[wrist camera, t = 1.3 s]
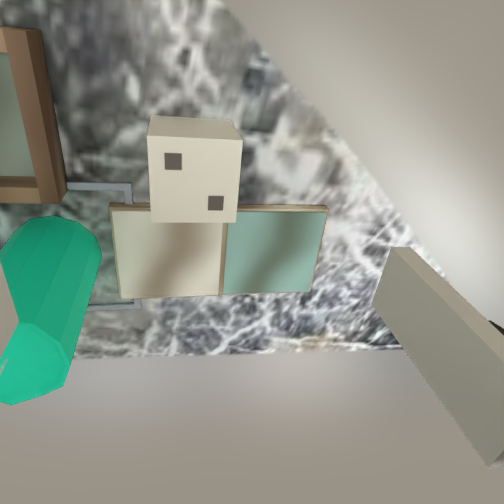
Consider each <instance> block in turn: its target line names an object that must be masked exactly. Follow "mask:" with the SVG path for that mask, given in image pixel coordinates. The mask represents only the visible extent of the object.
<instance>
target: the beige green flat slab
mask: <svg viewBox="0 0 504 504" xmlns="http://www.w3.org/2000/svg"><path fill="white" fill-rule="evenodd" d="M328 211H329V209H328V208H327V207H326V206H320V205H237V215H236V223H151V206H150V203H133V204H125V203H110V205H109V214H110V222H111V231H112V239H113V248H114V256H115V265H116V273H117V281H118V290H119V298H120V299H142V298H166V297H190V296H213V295H237V294H261V293H285V292H309V291H310V289H311V285H312V280H313V276H314V272H315V267H316V263H317V259H318V254H319V250H320V246H321V242H322V237H323V233H324V229H325V224H326V220H327V216H328Z"/></svg>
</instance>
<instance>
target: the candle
mask: <svg viewBox="0 0 504 504" xmlns="http://www.w3.org/2000/svg"><path fill="white" fill-rule="evenodd" d="M101 257H102V254H101V251H100V248H99V245H98V243H97V240H96V237H94V236H93V235H92V234H91V233H90V232H89V231H88V230H86V229H85V228H84V227H83V226H82V225H81V224H79V223H77V222H74V221H71V220H67V219H64V218H61V217H57V216H49V217H41V218H33V219H30V220H29V221H27V222H26V223H25V224H24V225H22V226H21V227H20V228H18V229H17V230H16V231H15V232H14V233H13V234H12V236H11V237H10V238H9V240H8V241H7V242H6V244H5V245H4V246H3V248H2V249H1V250H0V262H1V265H2V269H3V272H4V275H5V278H6V281H7V284H8V288H9V291H10V294H11V297H12V300H13V303H14V306H15V310H16V313H17V316H18V319H19V322H18V324H17V326H16V328H15V330H14V332H13V334H12V336H11V338H10V340H9V342H8V344H7V346H6V348H5V350H4V352H3V354H2V356H1V358H0V402H2V403H5V404H9V405H13V404H16V403H19V402H23V401H26V400H29V399H32V398H35V397H39V396H41V395H44V394H47V393H49V392H51V391H53V390H55V389H58V388H60V387H62V386H63V384H64V382H65V379H66V376H67V373H68V370H69V367H70V364H71V361H72V358H73V354H74V351H75V347H76V344H77V340H78V337H79V333H80V330H81V326H82V323H83V319H84V316H85V312H86V309H87V306H88V302H89V299H90V295H91V292H92V288H93V285H94V281H95V278H96V274H97V271H98V267H99V264H100V260H101Z"/></svg>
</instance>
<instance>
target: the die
mask: <svg viewBox="0 0 504 504" xmlns="http://www.w3.org/2000/svg"><path fill="white" fill-rule="evenodd" d="M242 144H243V140H242V138H241V137H240V135H239V133H238V132H237V130H236V129H235V127H234V125H233V124H232V122H231V120H223V119H207V118H191V117H175V116H159V115H151V117H150V122H149V127H148V132H147V148H148V167H149V186H150V206H151V223H236V215H237V203H238V191H239V180H240V168H241V156H242Z"/></svg>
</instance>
